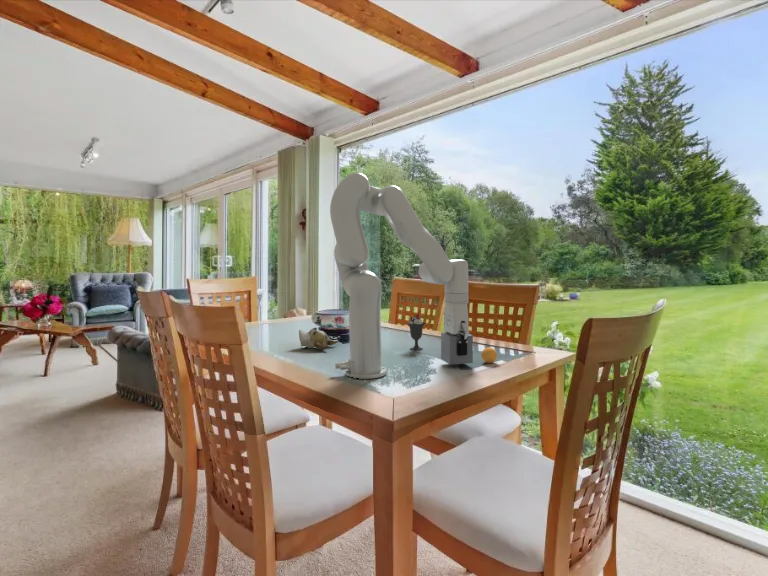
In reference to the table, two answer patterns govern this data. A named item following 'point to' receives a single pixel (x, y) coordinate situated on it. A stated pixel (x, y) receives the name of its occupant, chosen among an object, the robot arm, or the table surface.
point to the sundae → (416, 330)
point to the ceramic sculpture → (315, 339)
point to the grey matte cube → (455, 349)
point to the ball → (489, 355)
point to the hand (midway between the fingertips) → (456, 352)
